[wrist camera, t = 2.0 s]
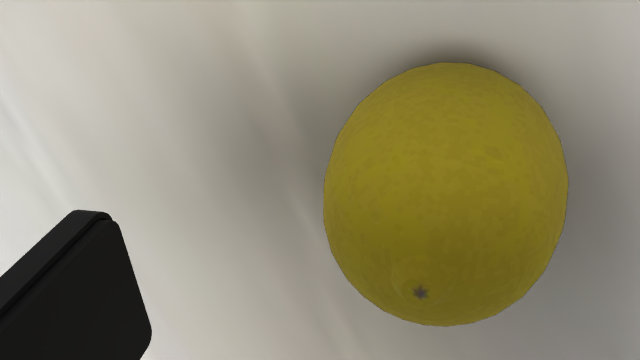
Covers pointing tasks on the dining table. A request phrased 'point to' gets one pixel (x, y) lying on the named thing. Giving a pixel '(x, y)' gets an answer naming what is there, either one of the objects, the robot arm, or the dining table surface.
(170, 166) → the dining table surface
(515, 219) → the lemon
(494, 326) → the dining table surface
